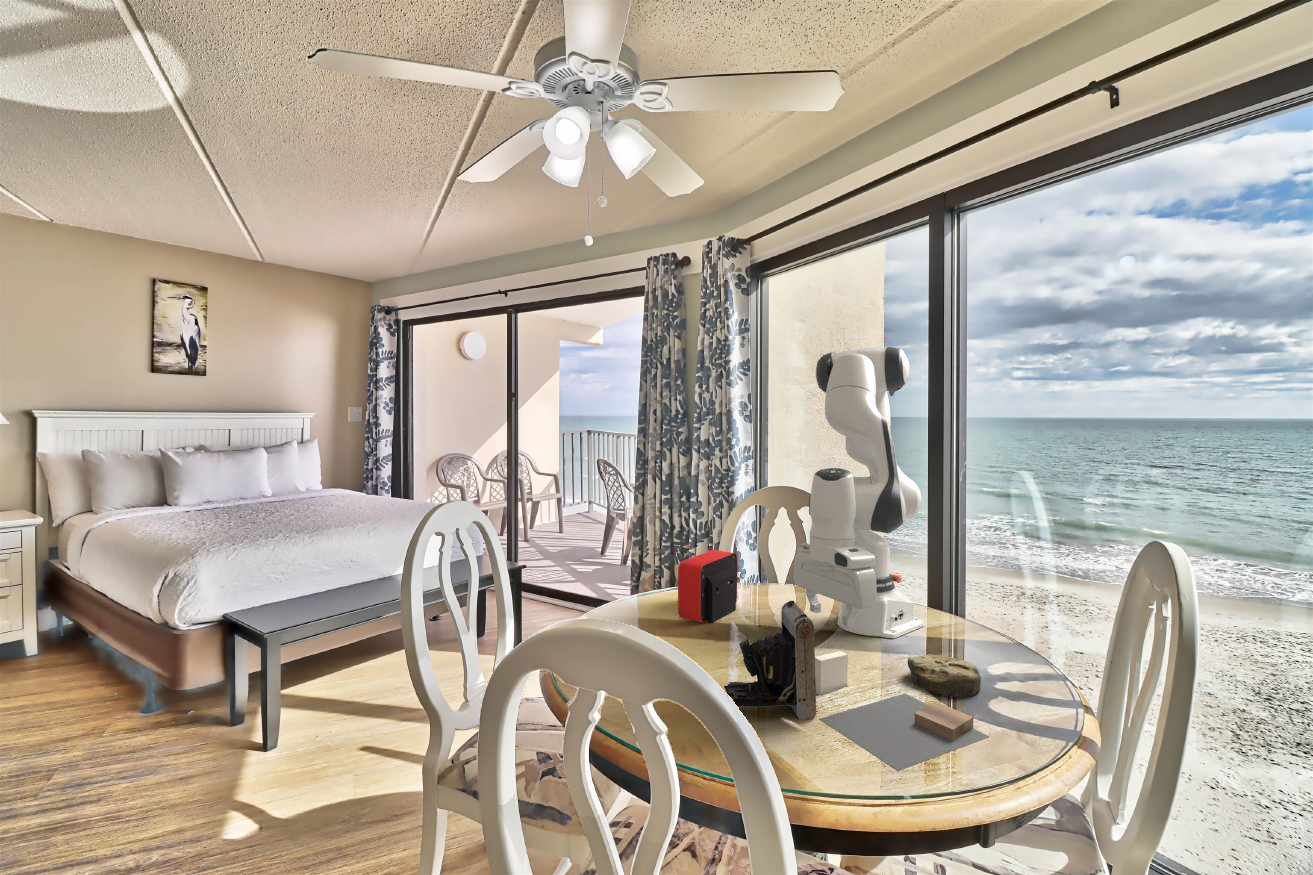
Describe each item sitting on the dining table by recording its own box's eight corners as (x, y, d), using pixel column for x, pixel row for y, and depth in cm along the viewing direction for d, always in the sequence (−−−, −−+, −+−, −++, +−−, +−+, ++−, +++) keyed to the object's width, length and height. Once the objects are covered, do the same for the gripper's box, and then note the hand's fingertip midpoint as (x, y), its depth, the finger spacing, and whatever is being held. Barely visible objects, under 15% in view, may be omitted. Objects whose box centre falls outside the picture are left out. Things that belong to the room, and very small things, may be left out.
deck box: (839, 683, 129) (840, 650, 128) (847, 687, 127) (847, 654, 126) (813, 690, 126) (813, 656, 125) (820, 695, 124) (821, 660, 123)
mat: (905, 696, 123) (905, 693, 123) (989, 740, 107) (989, 736, 107) (818, 721, 113) (818, 718, 113) (897, 774, 97) (897, 770, 97)
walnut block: (935, 712, 115) (935, 701, 115) (973, 728, 110) (973, 717, 110) (914, 724, 111) (914, 713, 111) (952, 740, 106) (953, 729, 106)
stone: (957, 708, 119) (958, 680, 119) (897, 681, 130) (897, 656, 130) (994, 691, 126) (995, 665, 126) (934, 667, 137) (935, 643, 137)
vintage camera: (723, 703, 121) (720, 603, 120) (800, 697, 122) (799, 598, 121) (733, 730, 112) (730, 622, 110) (817, 723, 113) (815, 616, 111)
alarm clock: (743, 607, 177) (744, 552, 176) (707, 627, 161) (707, 567, 160) (714, 601, 183) (714, 547, 182) (676, 620, 166) (676, 562, 166)
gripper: (786, 542, 132) (785, 606, 133) (857, 562, 114) (856, 637, 115) (809, 539, 135) (809, 602, 136) (882, 559, 117) (881, 631, 117)
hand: (831, 618), depth 125 cm, fingers open, 8 cm apart
